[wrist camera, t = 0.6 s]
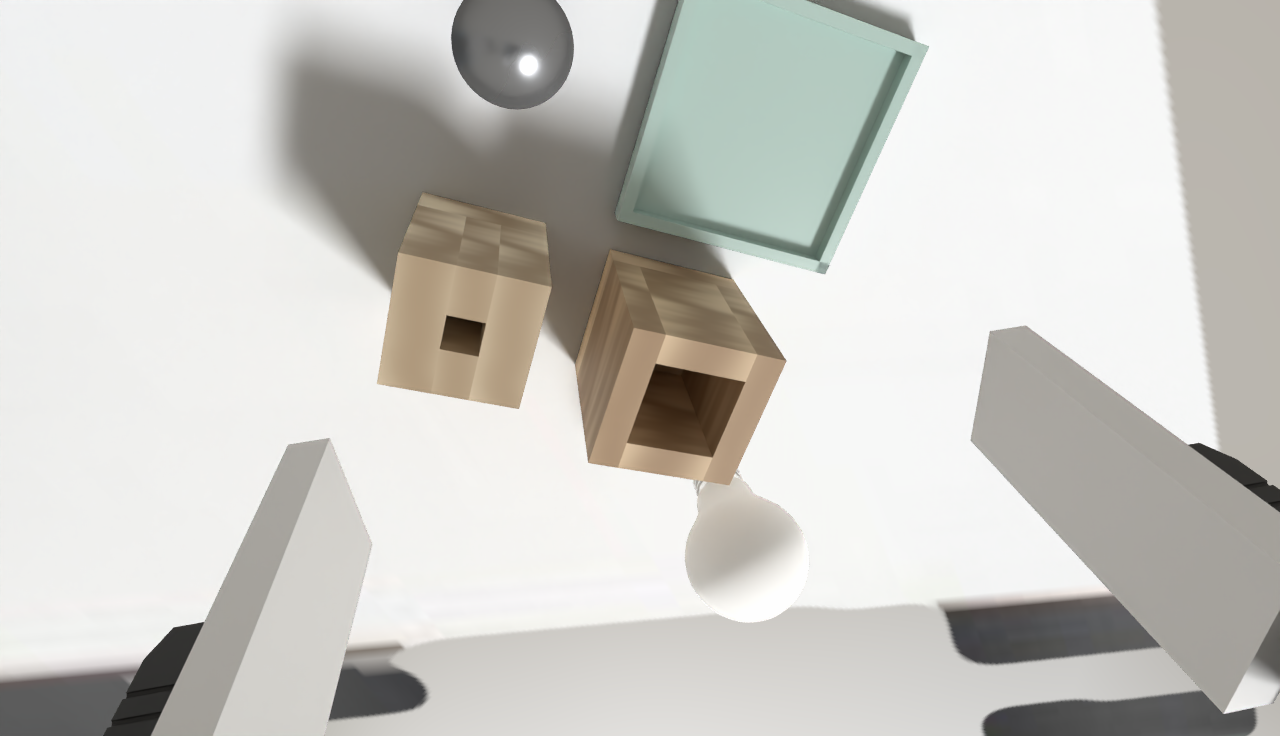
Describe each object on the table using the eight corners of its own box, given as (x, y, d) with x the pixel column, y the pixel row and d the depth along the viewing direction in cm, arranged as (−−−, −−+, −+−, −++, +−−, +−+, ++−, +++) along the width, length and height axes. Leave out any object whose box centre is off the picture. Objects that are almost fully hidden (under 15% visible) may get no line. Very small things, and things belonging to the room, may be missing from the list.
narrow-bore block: (403, 303, 37) (377, 383, 30) (422, 192, 34) (398, 252, 27) (518, 327, 38) (518, 409, 31) (545, 222, 36) (551, 287, 29)
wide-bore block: (574, 364, 40) (588, 462, 32) (609, 249, 37) (633, 327, 29) (690, 387, 42) (729, 485, 34) (733, 279, 39) (786, 360, 31)
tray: (614, 213, 36) (617, 220, 35) (690, -42, 31) (696, -41, 30) (816, 266, 39) (824, 274, 38) (916, 43, 34) (929, 46, 33)
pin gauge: (474, 33, 31) (441, 89, 18) (488, -44, 29) (463, -42, 17) (542, 54, 32) (557, 123, 19) (558, -19, 30) (587, 1, 17)
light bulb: (709, 408, 43) (764, 537, 33) (784, 457, 45) (854, 589, 36) (640, 481, 45) (672, 622, 35) (715, 524, 47) (764, 665, 38)
